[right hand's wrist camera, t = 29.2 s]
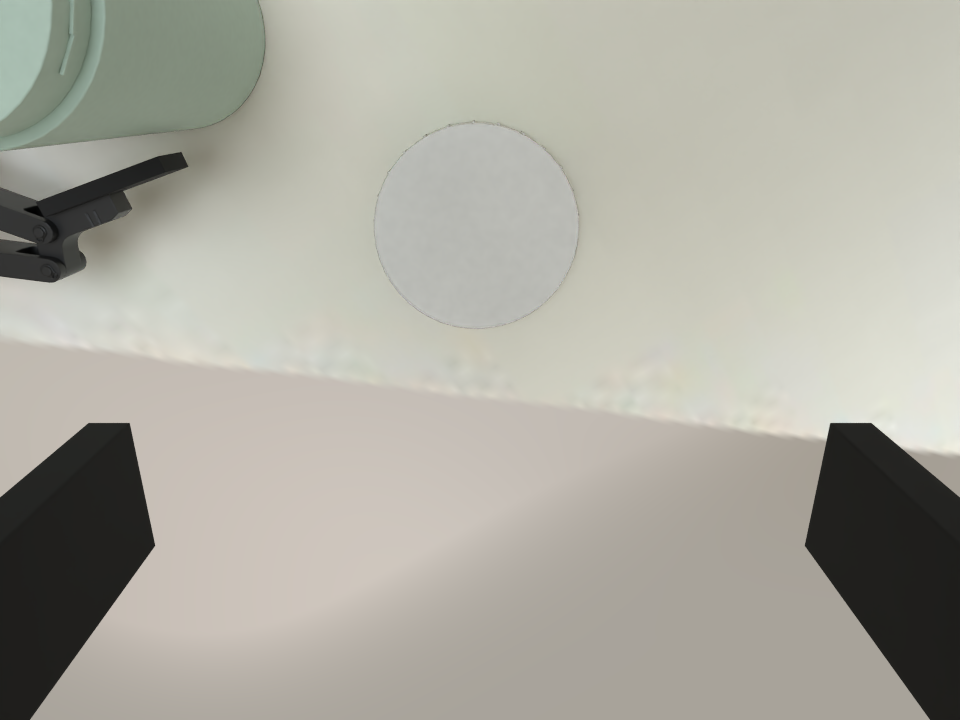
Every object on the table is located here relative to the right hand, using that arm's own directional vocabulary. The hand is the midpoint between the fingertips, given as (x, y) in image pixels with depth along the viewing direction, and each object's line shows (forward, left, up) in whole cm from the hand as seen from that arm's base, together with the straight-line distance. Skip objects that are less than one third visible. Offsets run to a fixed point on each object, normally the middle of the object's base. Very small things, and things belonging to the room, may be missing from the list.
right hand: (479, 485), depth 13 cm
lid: (0, 0, -27) cm, 27 cm away
